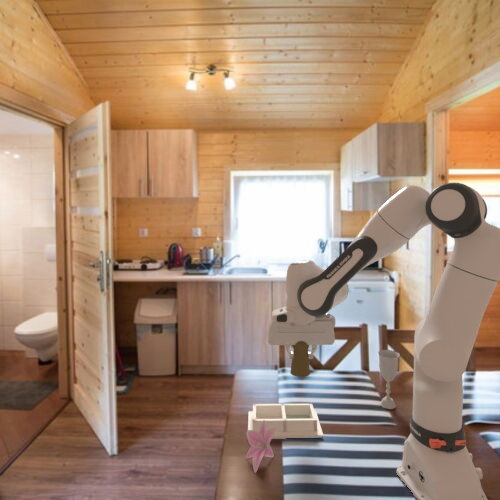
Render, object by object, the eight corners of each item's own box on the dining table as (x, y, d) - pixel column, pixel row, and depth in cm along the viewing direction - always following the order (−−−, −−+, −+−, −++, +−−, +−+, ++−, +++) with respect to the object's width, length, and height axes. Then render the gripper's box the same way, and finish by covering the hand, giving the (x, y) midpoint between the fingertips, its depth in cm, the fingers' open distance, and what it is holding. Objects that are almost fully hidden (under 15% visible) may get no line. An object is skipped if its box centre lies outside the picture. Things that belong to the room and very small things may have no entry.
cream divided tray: (323, 438, 115) (323, 423, 115) (247, 439, 116) (247, 424, 115) (315, 413, 129) (315, 400, 129) (248, 414, 130) (248, 401, 129)
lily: (248, 446, 114) (234, 425, 110) (286, 432, 113) (273, 409, 109) (252, 486, 103) (237, 464, 99) (294, 470, 102) (280, 447, 98)
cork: (309, 369, 124) (310, 335, 123) (310, 377, 118) (311, 341, 117) (290, 368, 125) (290, 334, 123) (290, 376, 119) (290, 340, 118)
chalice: (401, 410, 130) (403, 357, 128) (380, 410, 130) (382, 358, 128) (394, 399, 138) (395, 349, 136) (374, 400, 138) (375, 349, 136)
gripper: (333, 310, 122) (333, 354, 124) (267, 311, 123) (267, 354, 124) (337, 316, 116) (337, 362, 117) (267, 316, 116) (267, 362, 118)
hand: (300, 358), depth 121 cm, fingers closed on cork, 4 cm apart
